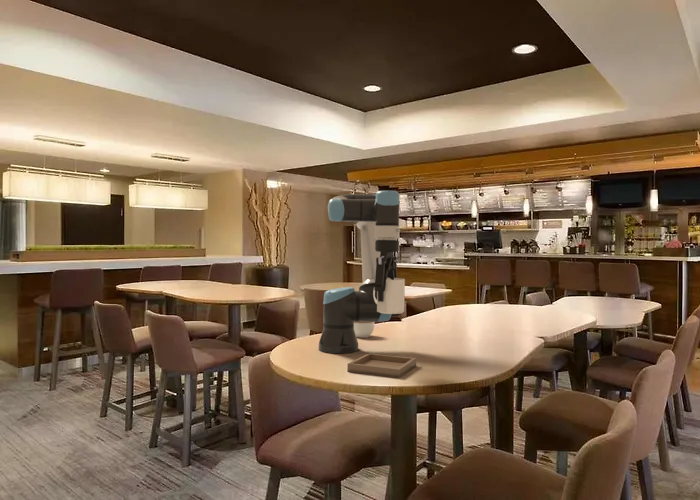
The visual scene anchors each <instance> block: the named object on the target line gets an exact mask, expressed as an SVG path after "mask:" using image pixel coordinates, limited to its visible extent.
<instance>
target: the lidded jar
mask: <svg viewBox="0 0 700 500" xmlns="http://www.w3.org/2000/svg"><path fill="white" fill-rule="evenodd" d="M375 324H376V323H375V322H354V331H355V334H356V338H361V339H363V338H369V337H370V336H371V335H372V334H373V333H374V329H375Z"/></svg>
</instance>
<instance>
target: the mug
mask: <svg viewBox="0 0 700 500" xmlns="http://www.w3.org/2000/svg"><path fill="white" fill-rule="evenodd" d="M405 285H406V279H405V278H403V277H402V278H401V277H397V278H394V280H391V279H390V278H387V280H386V287H385V291H386V312H380V313H384V314H392V315H400V314H403V313H404V312H405V294H406V293H405V291H406V290H405V288H406V286H405ZM374 288H375V287H374ZM373 296H374V301H375V303H376V304H377V299H376V298H375V290H374V291H373Z"/></svg>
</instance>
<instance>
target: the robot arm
mask: <svg viewBox="0 0 700 500" xmlns="http://www.w3.org/2000/svg"><path fill="white" fill-rule="evenodd" d="M400 203H401V201H400V193H399V192H398V191H396V190H377V191H376V193H372V194H369V193H368V194H367V193H365V194H364V193H362V194H360V193H345V194H340V195H337V196H334V197H332V198H331V199H329V200H328V203H327V214H328V220H329V221H331V222H344V223H345V222H347V223H356V227H357V229H359V230H360V248H361V249H360V251H361V254H360V255H361V271H362V273H361V274H362V275H361V276H362V277H361V278H362V284H360V285H359V287H358V290H355V288H354V286H347V287H346V286H345V287H344V286H343V287H337V288H332V289H328V290H326V291H324V294H323V302H322V304H323V329H322V332H321V336H320V338H319V340H318V341H319V342H318V350H319V351H320V352H323V353H330V354H347V353H353V352H357V351H359V342H358V341H359V340H358V337H356V334H355V331H354V322H376V323H377V322H378V323H379V322H388V321H389V320H390V319H391V317H392V315H393V314H384V313H380V312H386V291H385V287H386V280H387V278H390V279H391V280H394V278H398V265H397V264H398V263H397V262H398V258H397V256H396V255H395V256H394V253H396V252H399V251H400V250H399V249H400V243H399V242H400V241H399V240H398V239H399V238H400V237H399V235H400V232H401V229H400ZM374 287H375V288H374ZM374 290H375V298H376V299H377V304H376V303H375V301H374V296H373V291H374Z"/></svg>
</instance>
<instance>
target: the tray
mask: <svg viewBox="0 0 700 500" xmlns="http://www.w3.org/2000/svg"><path fill="white" fill-rule="evenodd" d="M415 367H417V358H416V357H410V356H409V357H407V356H397V355H396V356H395V355H388V354H377V353H367V354H365V355H362V356H360V357H358V358H356V359H354V360H352V361H350V362H348V363H347V371H346V372H348V373H357V374H364V375H372V376H378V377H379V376H380V377H389V378H396V379H397V378H399V379H400V378H401V377H403V376H404V375H406V374H407V373H408V372H410V371H411V370H413V369H414V368H415Z"/></svg>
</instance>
